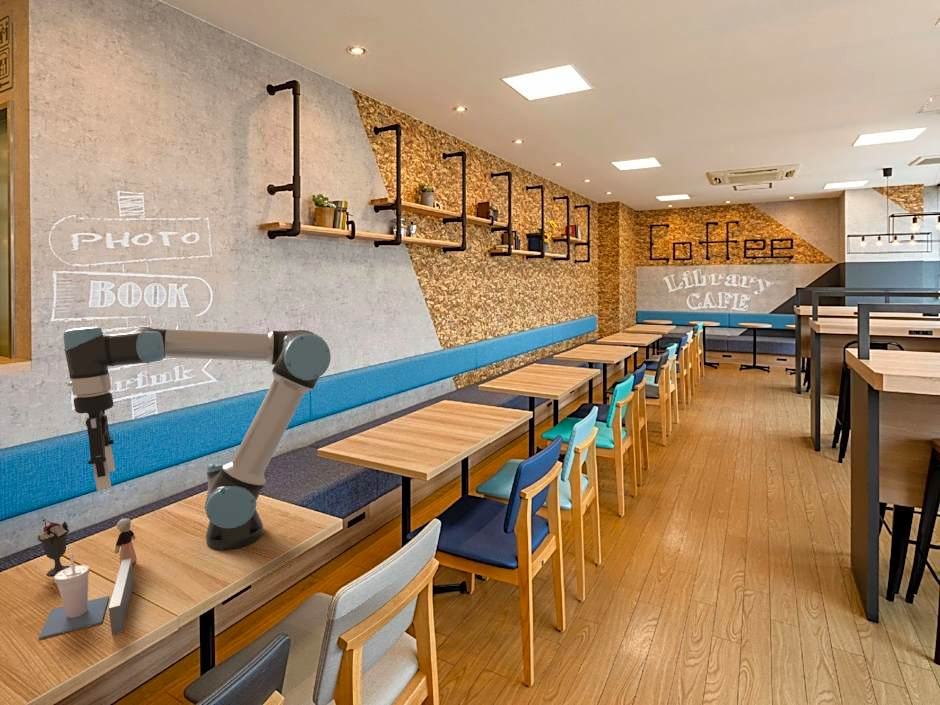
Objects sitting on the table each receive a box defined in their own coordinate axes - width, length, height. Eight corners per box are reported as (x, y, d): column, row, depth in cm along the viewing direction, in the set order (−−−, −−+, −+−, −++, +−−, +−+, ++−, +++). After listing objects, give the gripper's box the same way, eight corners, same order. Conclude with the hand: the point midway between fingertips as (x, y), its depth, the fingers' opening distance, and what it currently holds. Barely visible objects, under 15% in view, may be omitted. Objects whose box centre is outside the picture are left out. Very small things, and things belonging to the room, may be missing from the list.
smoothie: (75, 623, 118) (67, 562, 116) (51, 619, 119) (43, 559, 118) (101, 605, 124) (94, 547, 122) (78, 603, 126) (71, 545, 124)
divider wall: (133, 581, 135) (131, 558, 134) (123, 631, 116) (119, 605, 115) (124, 583, 134) (121, 560, 133) (111, 634, 115) (108, 608, 114)
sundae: (38, 580, 136) (30, 523, 134) (46, 567, 142) (39, 513, 140) (70, 574, 139) (63, 518, 137) (77, 562, 145) (70, 508, 143)
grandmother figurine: (131, 571, 140) (125, 524, 138) (114, 573, 139) (108, 526, 137) (142, 556, 147) (137, 511, 146) (126, 558, 146) (121, 513, 145)
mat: (109, 597, 128) (108, 595, 128) (101, 623, 118) (101, 621, 118) (51, 610, 123) (51, 609, 123) (38, 639, 114) (38, 637, 114)
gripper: (79, 387, 137) (92, 468, 140) (65, 406, 115) (81, 501, 118) (114, 382, 140) (127, 461, 143) (107, 400, 119) (122, 493, 122)
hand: (106, 480), depth 131 cm, fingers open, 13 cm apart
